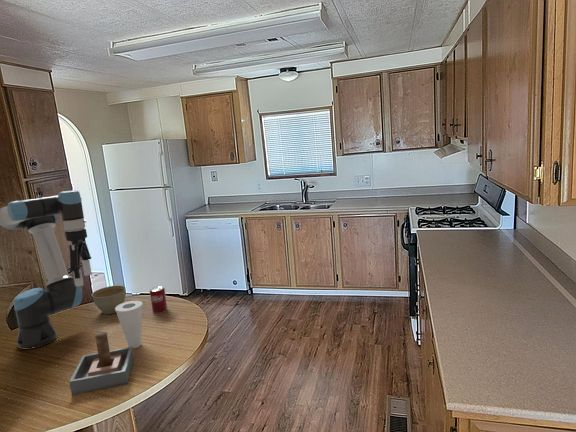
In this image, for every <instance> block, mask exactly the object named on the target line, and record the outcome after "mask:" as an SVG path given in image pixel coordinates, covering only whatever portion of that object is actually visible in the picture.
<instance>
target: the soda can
mask: <svg viewBox="0 0 576 432" xmlns="http://www.w3.org/2000/svg"><path fill="white" fill-rule="evenodd" d="M149 295H150V296H149V297H150V305H151V311H152V313H153V314H156V315H157V314H163V313H165V312H167V310H168V305H167V297H166V295H167V294H166V290H165V287H164V286H154V287H152V288H150V290H149Z"/></svg>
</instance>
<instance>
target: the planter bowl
mask: <svg viewBox="0 0 576 432" xmlns="http://www.w3.org/2000/svg"><path fill="white" fill-rule="evenodd" d="M126 294H127V293H126V287H125V286H124V285H110V286H106V287H102V288H100V289H97V290H95V291H93V293H91V298H92V300H93V304H94V305H95V306H96V308H98V310H99V311H100V312H102V314H104V315H110V314H111V315H112V314H115V313H116V310H115V308H116V306H118V305H120V304H122V303H125V302H126V301H125V300H126Z"/></svg>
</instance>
